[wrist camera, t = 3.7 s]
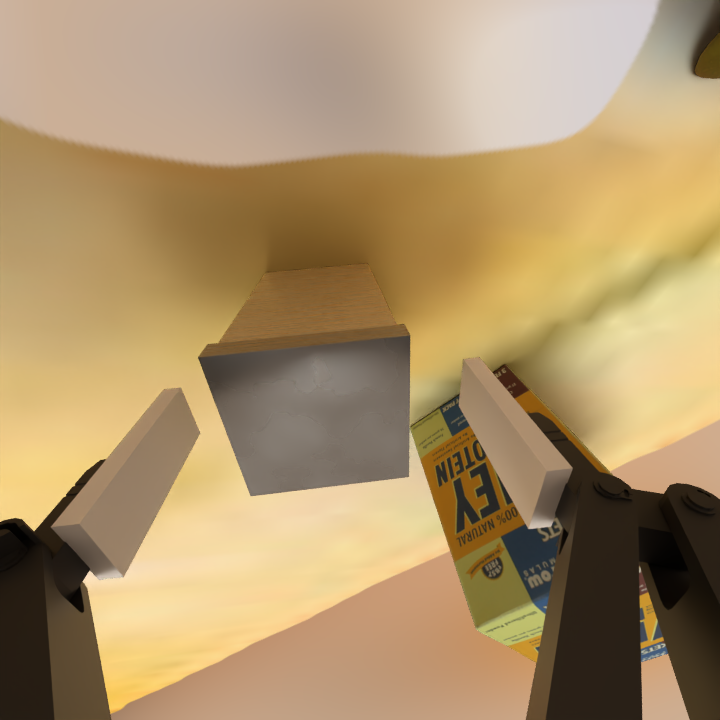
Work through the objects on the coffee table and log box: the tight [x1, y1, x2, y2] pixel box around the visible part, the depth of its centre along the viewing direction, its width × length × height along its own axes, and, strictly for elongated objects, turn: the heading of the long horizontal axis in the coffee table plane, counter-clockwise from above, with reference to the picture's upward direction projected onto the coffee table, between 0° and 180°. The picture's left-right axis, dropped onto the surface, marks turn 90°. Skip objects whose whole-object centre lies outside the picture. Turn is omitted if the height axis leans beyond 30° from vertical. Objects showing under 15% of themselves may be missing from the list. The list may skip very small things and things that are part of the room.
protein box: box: [410, 365, 668, 663], centre depth 25 cm, size 10×15×16 cm
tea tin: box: [198, 263, 410, 496], centre depth 18 cm, size 7×7×12 cm
